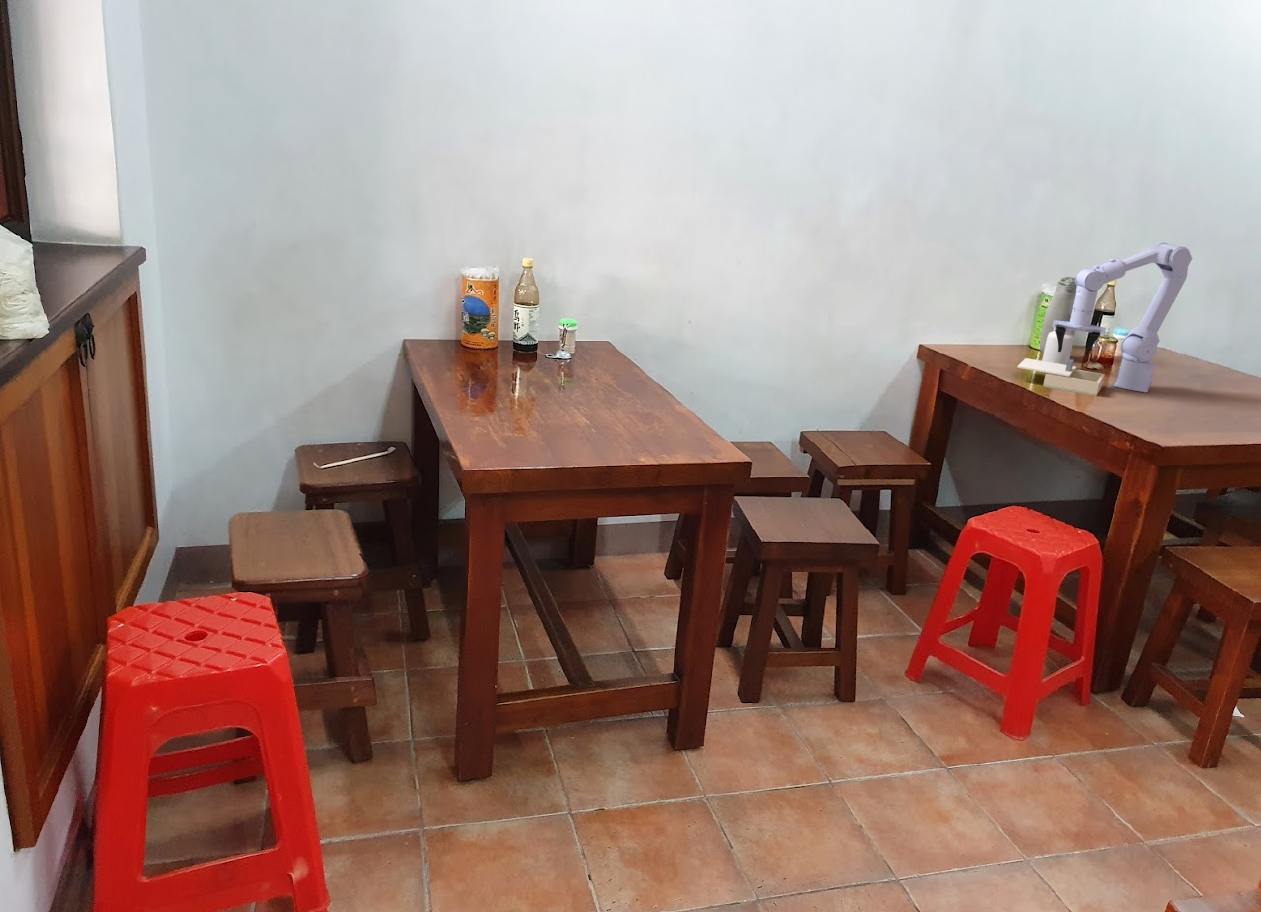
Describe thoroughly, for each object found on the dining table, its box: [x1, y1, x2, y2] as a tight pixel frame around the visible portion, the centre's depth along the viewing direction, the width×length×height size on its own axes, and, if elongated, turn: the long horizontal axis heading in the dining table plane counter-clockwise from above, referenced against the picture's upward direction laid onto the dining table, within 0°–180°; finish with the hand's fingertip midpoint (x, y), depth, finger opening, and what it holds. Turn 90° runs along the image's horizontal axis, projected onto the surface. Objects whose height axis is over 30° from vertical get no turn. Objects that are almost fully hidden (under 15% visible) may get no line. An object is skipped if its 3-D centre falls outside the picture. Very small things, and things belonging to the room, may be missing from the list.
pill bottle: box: [1041, 327, 1075, 365], centre depth 310 cm, size 8×8×15 cm
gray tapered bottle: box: [1039, 276, 1077, 355], centre depth 324 cm, size 10×10×28 cm
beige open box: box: [1042, 368, 1106, 397], centre depth 293 cm, size 15×14×4 cm
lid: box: [1016, 357, 1077, 377], centre depth 295 cm, size 15×14×4 cm
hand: (1072, 353), depth 291 cm, fingers open, 7 cm apart
